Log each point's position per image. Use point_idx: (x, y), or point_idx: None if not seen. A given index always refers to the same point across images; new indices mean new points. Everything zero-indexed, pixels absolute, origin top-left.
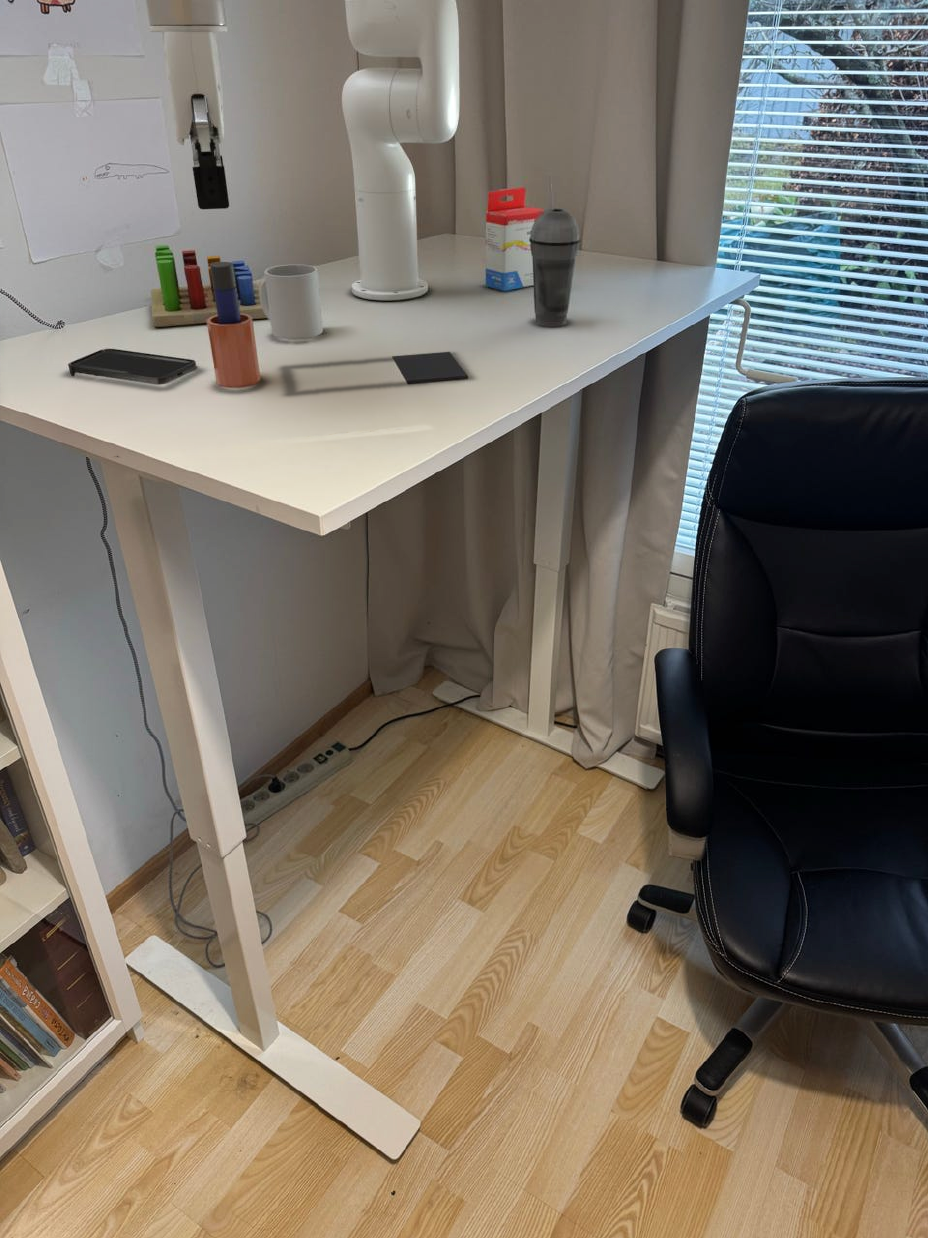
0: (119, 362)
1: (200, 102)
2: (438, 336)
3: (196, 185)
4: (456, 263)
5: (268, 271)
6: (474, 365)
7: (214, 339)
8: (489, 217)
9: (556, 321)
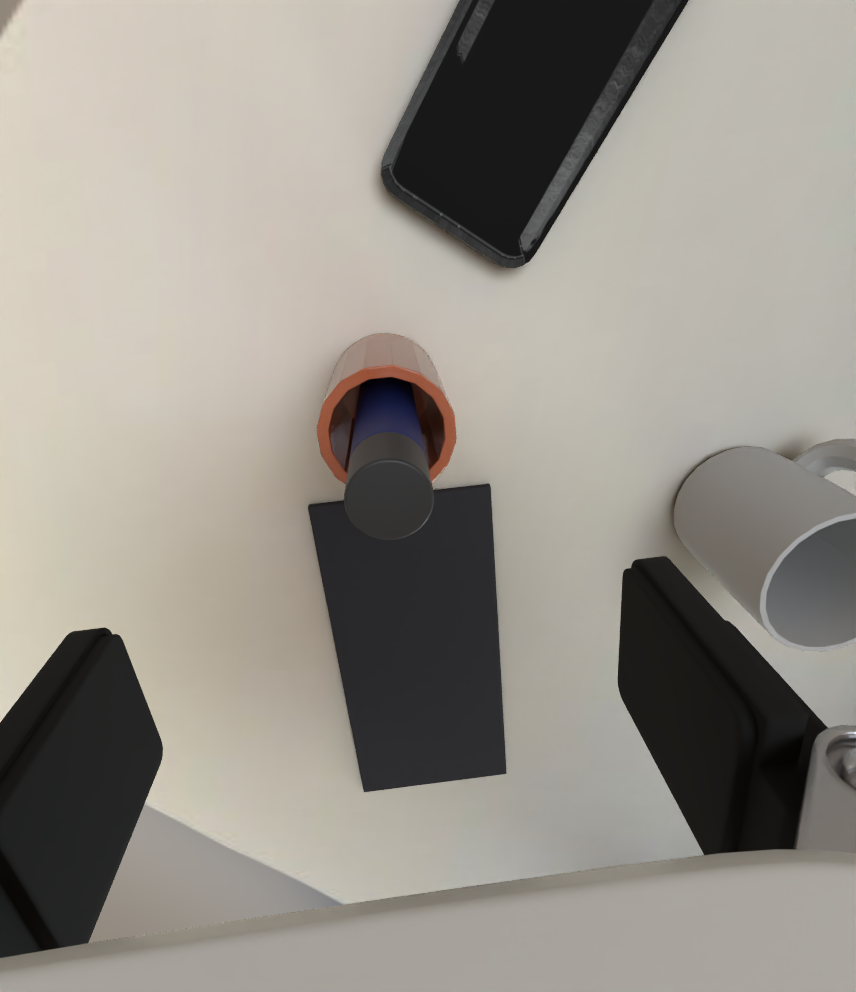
0: (568, 4)
1: None
2: (624, 756)
3: (1, 729)
4: None
5: None
6: (435, 799)
7: (338, 376)
8: None
9: None
